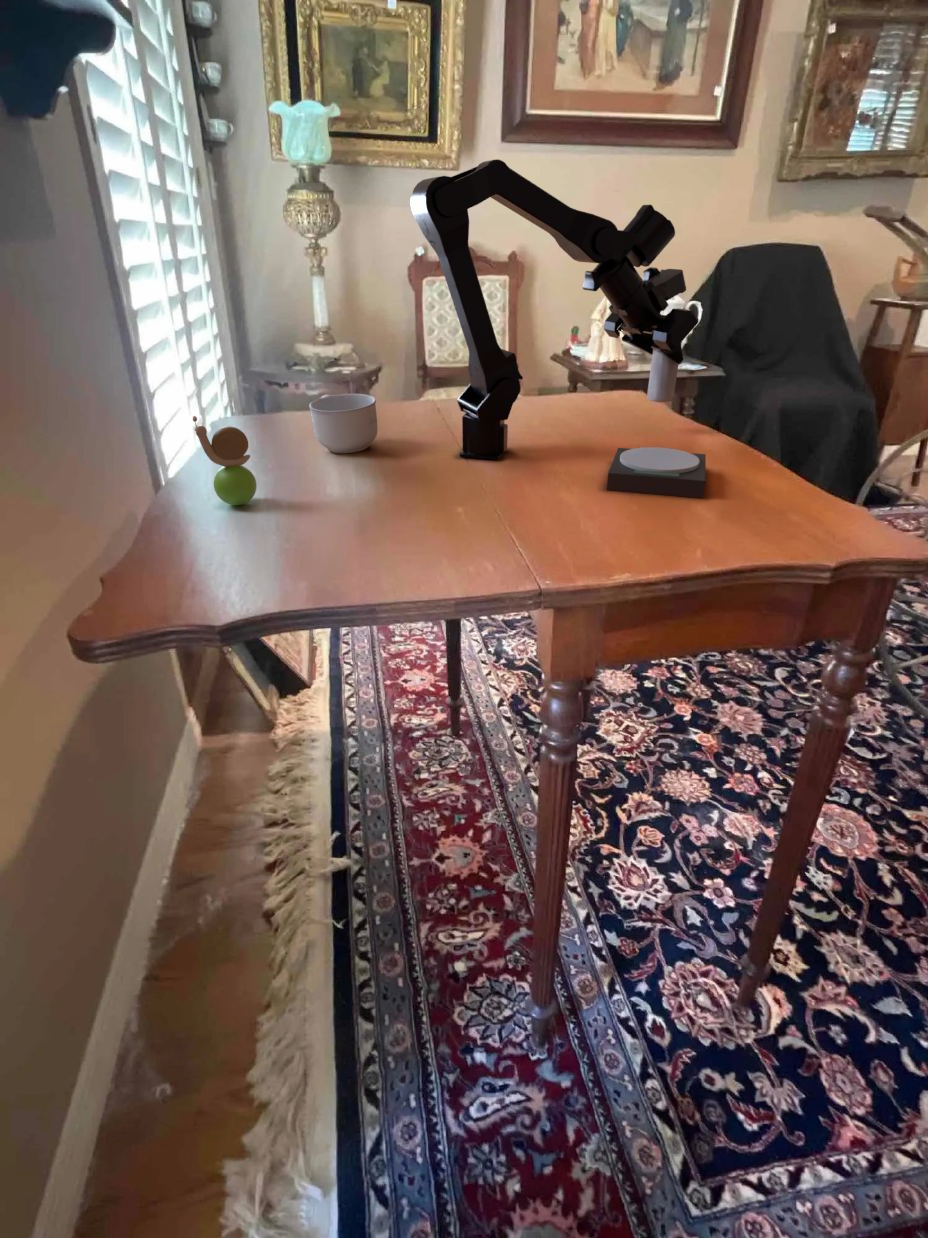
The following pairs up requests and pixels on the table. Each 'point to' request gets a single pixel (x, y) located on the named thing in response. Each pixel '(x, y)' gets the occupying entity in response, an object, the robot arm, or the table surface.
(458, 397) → the robot arm
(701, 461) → the scale
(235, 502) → the snail figurine
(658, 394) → the grey cylindrical piece
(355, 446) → the teacup
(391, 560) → the table surface
